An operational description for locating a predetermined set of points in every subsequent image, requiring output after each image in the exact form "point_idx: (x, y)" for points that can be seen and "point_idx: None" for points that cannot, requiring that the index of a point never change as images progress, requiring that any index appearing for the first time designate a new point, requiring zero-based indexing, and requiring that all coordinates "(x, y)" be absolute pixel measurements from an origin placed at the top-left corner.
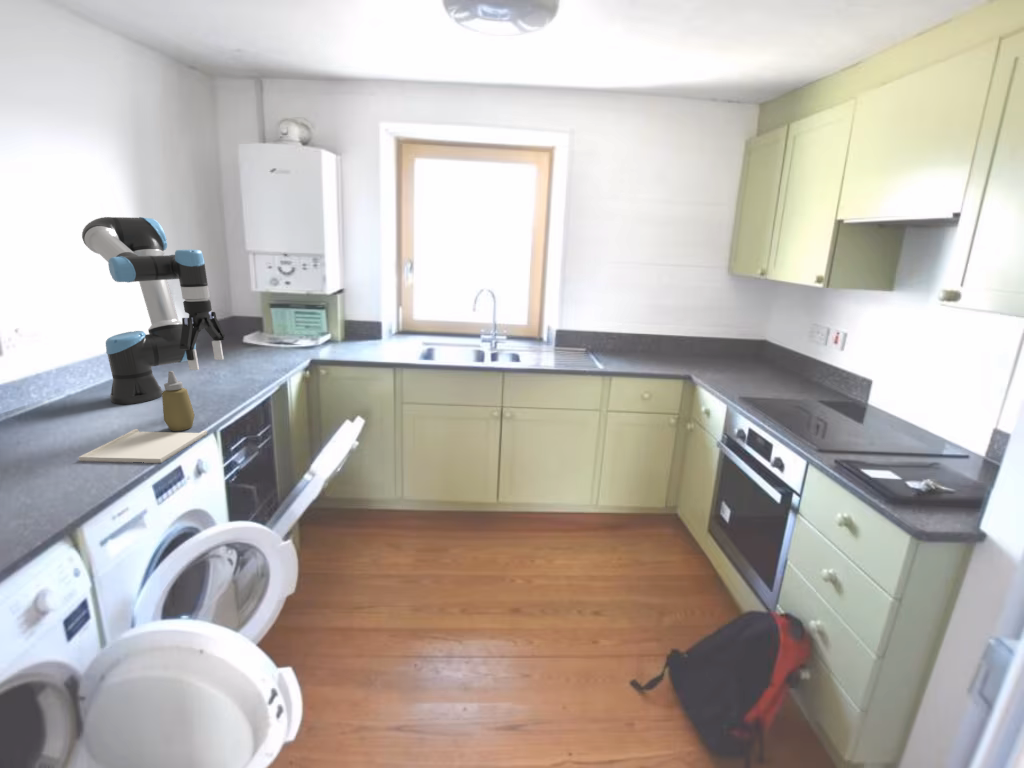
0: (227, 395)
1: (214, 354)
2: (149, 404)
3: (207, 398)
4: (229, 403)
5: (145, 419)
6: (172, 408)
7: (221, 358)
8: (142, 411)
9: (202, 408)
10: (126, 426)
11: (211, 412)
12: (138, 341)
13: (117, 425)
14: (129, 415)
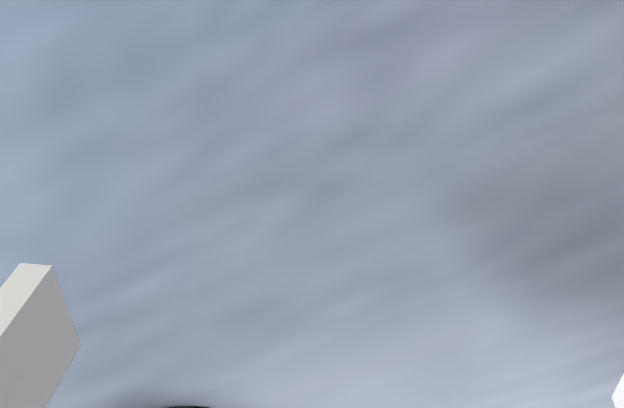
0: (63, 136)
1: (42, 403)
2: (287, 400)
3: (150, 219)
4: (217, 34)
5: (518, 332)
6: None
7: (45, 289)
8: (389, 385)
9: (338, 158)
10: (618, 356)
11: (426, 58)
12: None
13: (590, 389)
14: (444, 403)
